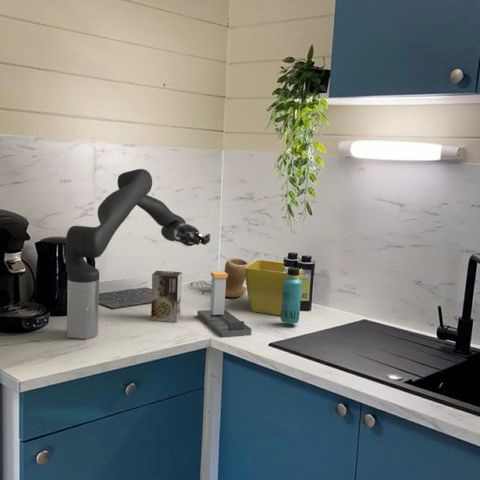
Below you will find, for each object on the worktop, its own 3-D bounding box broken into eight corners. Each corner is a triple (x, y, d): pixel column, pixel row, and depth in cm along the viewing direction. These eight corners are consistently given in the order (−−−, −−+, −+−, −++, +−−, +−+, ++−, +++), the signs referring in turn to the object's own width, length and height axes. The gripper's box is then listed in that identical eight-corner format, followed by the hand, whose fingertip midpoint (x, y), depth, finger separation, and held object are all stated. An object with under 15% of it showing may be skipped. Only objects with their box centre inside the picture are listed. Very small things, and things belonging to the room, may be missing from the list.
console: (251, 335, 193) (252, 321, 193) (222, 337, 189) (222, 323, 189) (223, 314, 215) (224, 302, 214) (197, 316, 211) (197, 303, 210)
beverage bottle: (286, 321, 211) (290, 265, 208) (302, 325, 207) (307, 268, 204) (276, 325, 206) (280, 267, 203) (292, 329, 202) (297, 271, 199)
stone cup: (241, 301, 236) (243, 263, 233) (213, 296, 240) (215, 259, 237) (253, 293, 250) (256, 257, 247) (227, 289, 254) (229, 254, 252)
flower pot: (302, 307, 232) (305, 264, 229) (292, 320, 214) (296, 273, 211) (254, 301, 237) (257, 259, 234) (241, 313, 219) (244, 267, 216)
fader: (225, 314, 207) (227, 274, 204) (212, 315, 205) (214, 274, 203) (221, 311, 210) (223, 271, 208) (208, 312, 208) (210, 272, 206)
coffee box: (180, 317, 208) (182, 271, 206) (176, 322, 202) (178, 275, 199) (154, 315, 209) (156, 269, 207) (150, 320, 203) (151, 273, 200)
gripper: (168, 224, 222) (183, 231, 206) (204, 224, 228) (220, 231, 212) (168, 244, 223) (182, 252, 208) (203, 244, 229) (219, 252, 213)
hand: (201, 241), depth 210 cm, fingers closed
